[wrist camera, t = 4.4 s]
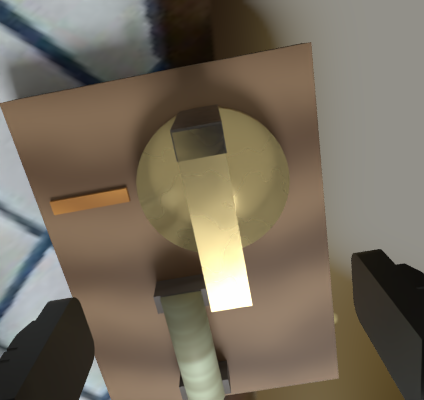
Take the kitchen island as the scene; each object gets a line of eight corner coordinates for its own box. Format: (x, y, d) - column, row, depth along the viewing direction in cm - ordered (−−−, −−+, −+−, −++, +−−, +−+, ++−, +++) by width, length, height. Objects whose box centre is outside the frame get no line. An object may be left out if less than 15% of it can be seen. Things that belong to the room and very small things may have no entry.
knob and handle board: (17, 99, 21) (-33, 111, 17) (301, 43, 20) (328, 40, 16) (121, 388, 29) (106, 449, 25) (329, 356, 28) (353, 413, 24)
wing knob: (121, 119, 19) (88, 145, 14) (276, 90, 19) (305, 105, 13) (158, 255, 22) (142, 323, 17) (293, 232, 22) (323, 293, 16)
